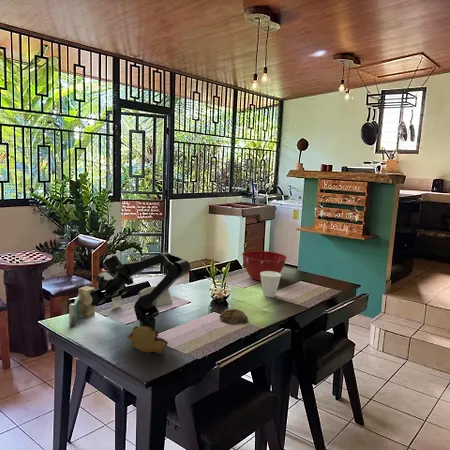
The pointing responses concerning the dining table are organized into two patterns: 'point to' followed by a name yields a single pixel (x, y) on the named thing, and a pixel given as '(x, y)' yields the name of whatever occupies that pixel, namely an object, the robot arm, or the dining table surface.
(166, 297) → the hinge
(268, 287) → the cup
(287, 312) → the dining table surface
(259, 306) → the dining table surface
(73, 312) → the frame
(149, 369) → the dining table surface
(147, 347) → the wooden carving
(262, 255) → the mixing bowl
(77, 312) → the green upright panel
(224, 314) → the brown dome mound
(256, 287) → the dining table surface
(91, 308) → the block
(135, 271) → the robot arm
